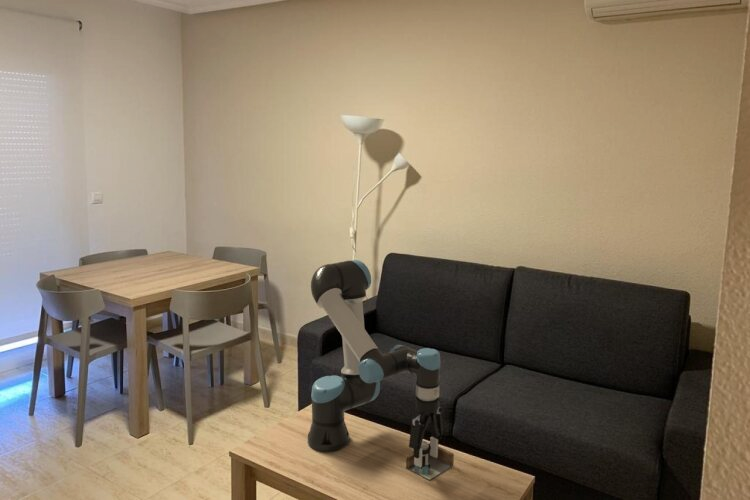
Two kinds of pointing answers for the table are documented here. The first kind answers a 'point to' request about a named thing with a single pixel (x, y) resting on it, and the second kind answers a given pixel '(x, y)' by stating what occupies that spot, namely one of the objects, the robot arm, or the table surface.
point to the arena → (433, 463)
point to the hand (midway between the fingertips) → (425, 460)
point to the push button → (424, 459)
